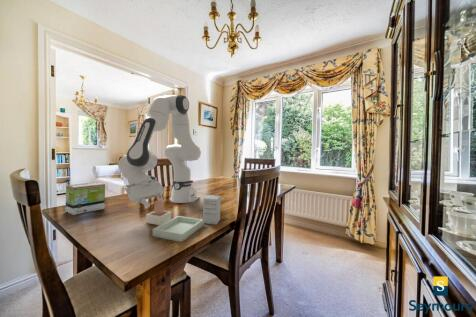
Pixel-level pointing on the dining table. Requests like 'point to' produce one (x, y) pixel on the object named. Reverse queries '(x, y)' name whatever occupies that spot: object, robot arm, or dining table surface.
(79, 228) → the dining table surface
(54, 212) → the dining table surface
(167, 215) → the white square dish
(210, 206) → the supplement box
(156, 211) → the terracotta jar
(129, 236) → the dining table surface
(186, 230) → the tray
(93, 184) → the tea box
